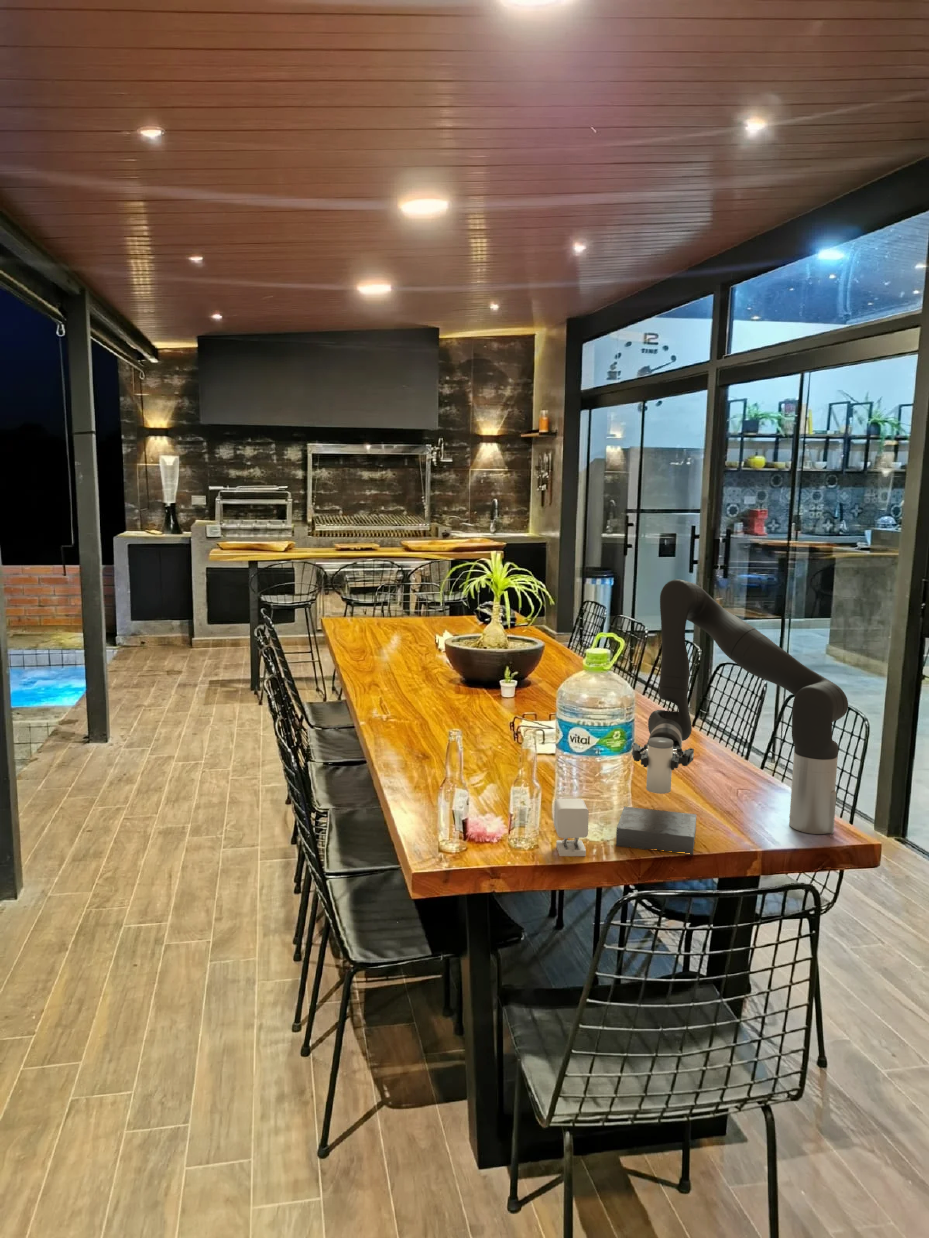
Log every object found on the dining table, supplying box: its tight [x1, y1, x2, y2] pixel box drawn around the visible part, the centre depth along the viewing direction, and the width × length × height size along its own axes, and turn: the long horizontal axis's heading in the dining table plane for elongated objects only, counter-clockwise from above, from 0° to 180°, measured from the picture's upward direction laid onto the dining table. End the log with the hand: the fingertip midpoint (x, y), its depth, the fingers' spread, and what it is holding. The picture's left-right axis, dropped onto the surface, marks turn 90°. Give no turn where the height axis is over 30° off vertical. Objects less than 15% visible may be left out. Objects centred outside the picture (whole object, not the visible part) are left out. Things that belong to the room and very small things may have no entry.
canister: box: [645, 737, 673, 795], centre depth 200 cm, size 5×5×11 cm
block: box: [615, 806, 697, 855], centre depth 202 cm, size 16×14×4 cm
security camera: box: [553, 798, 590, 857], centre depth 195 cm, size 6×7×10 cm
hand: (659, 764), depth 197 cm, fingers closed on canister, 5 cm apart
